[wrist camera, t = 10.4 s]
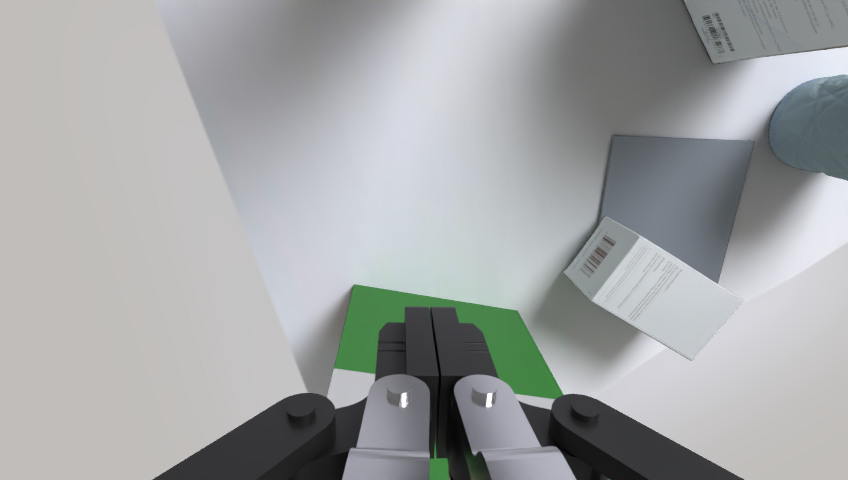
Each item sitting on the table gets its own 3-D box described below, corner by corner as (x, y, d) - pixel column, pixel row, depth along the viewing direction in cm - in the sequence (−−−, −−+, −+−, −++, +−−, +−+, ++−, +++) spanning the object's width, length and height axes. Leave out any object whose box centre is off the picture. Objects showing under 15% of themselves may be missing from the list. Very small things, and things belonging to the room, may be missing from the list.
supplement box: (560, 272, 46) (651, 327, 49) (589, 302, 39) (694, 364, 42) (604, 213, 45) (695, 273, 47) (642, 233, 38) (748, 302, 40)
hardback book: (343, 346, 48) (293, 570, 26) (354, 284, 46) (309, 467, 23) (500, 369, 50) (584, 596, 27) (517, 310, 48) (623, 504, 25)
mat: (612, 135, 43) (614, 136, 42) (751, 140, 44) (754, 141, 43) (588, 280, 47) (590, 281, 47) (715, 282, 48) (717, 283, 48)
